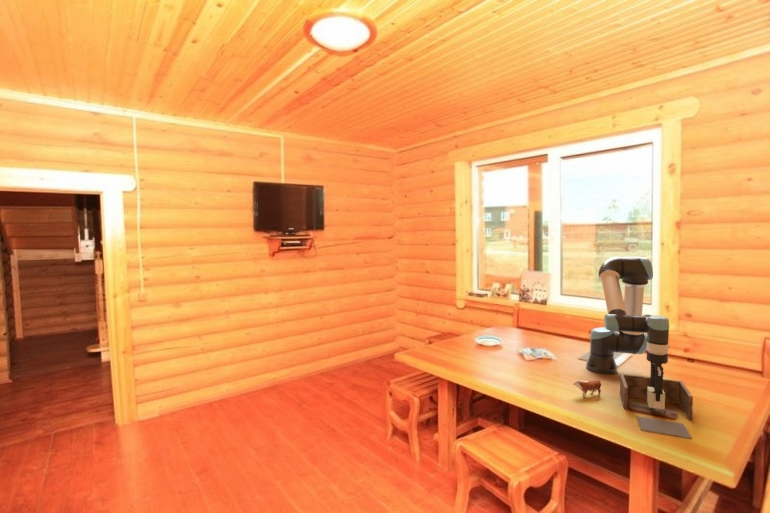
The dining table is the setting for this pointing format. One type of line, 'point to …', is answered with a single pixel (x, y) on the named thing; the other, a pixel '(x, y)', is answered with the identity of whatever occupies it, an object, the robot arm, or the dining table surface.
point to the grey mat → (663, 427)
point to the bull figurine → (588, 386)
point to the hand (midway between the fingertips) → (655, 404)
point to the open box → (639, 384)
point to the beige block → (650, 398)
